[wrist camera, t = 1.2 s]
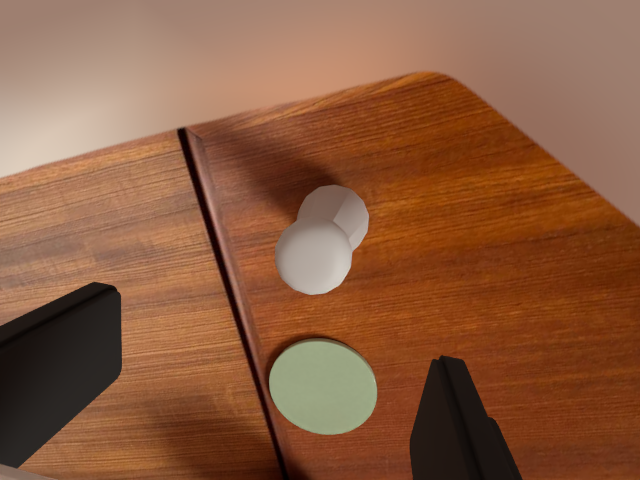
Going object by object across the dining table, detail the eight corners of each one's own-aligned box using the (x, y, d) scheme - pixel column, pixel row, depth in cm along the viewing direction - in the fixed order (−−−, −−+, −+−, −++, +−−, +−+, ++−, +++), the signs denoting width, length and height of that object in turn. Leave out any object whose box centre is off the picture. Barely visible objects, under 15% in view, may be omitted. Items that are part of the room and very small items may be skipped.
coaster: (249, 369, 36) (247, 372, 35) (334, 318, 33) (334, 321, 32) (311, 445, 37) (310, 449, 37) (398, 403, 34) (399, 407, 34)
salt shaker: (344, 168, 29) (323, 185, 17) (382, 223, 30) (388, 278, 18) (291, 206, 31) (235, 247, 18) (327, 258, 32) (298, 330, 19)
